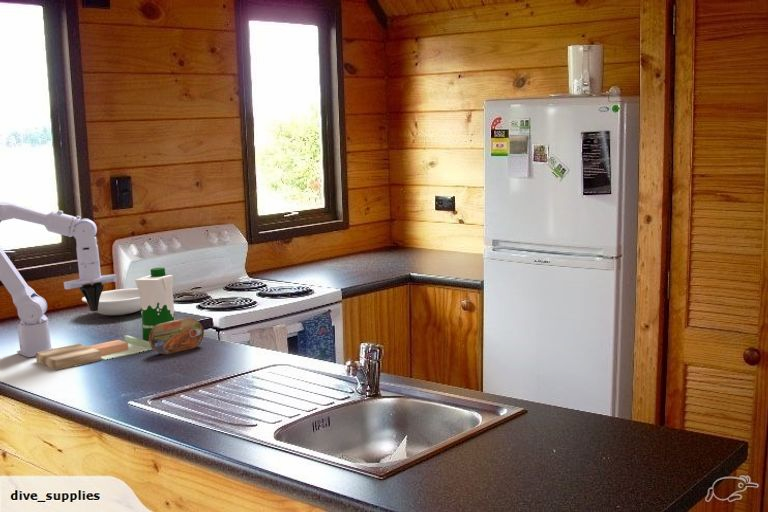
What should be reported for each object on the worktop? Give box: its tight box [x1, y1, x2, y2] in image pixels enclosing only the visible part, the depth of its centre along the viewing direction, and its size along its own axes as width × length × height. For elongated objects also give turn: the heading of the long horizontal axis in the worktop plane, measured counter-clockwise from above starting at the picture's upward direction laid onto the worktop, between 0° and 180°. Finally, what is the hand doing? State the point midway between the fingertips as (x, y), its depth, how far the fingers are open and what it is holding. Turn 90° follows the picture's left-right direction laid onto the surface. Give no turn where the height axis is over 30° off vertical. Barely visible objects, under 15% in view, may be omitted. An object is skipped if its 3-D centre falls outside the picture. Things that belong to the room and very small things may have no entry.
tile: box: [87, 339, 129, 356], centre depth 248 cm, size 6×9×2 cm, turn 131°
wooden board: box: [35, 343, 103, 371], centre depth 241 cm, size 14×12×2 cm
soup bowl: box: [81, 287, 141, 316], centre depth 303 cm, size 24×24×7 cm
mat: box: [101, 334, 154, 361], centre depth 250 cm, size 16×14×2 cm
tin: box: [148, 317, 205, 355], centre depth 245 cm, size 15×3×8 cm, turn 127°
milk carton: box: [134, 267, 176, 342], centre depth 260 cm, size 9×9×20 cm
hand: (94, 310), depth 255 cm, fingers closed
